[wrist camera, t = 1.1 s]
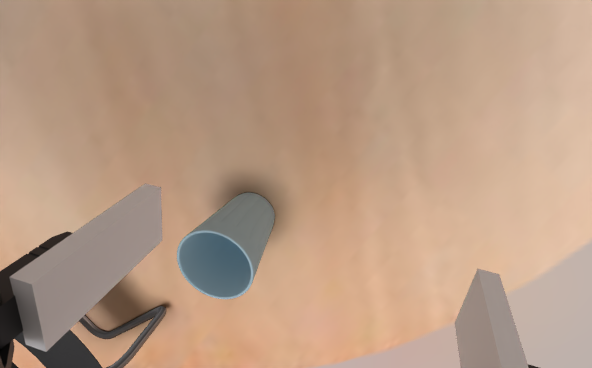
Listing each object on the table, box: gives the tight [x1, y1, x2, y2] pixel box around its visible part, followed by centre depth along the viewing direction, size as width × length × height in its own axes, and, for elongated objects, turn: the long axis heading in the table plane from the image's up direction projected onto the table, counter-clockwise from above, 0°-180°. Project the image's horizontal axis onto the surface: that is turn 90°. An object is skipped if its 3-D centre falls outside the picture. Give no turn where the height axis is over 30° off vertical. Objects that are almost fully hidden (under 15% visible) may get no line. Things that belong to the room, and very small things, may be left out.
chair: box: [11, 306, 166, 368], centre depth 49 cm, size 13×17×22 cm
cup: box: [177, 193, 275, 299], centre depth 42 cm, size 8×8×10 cm
